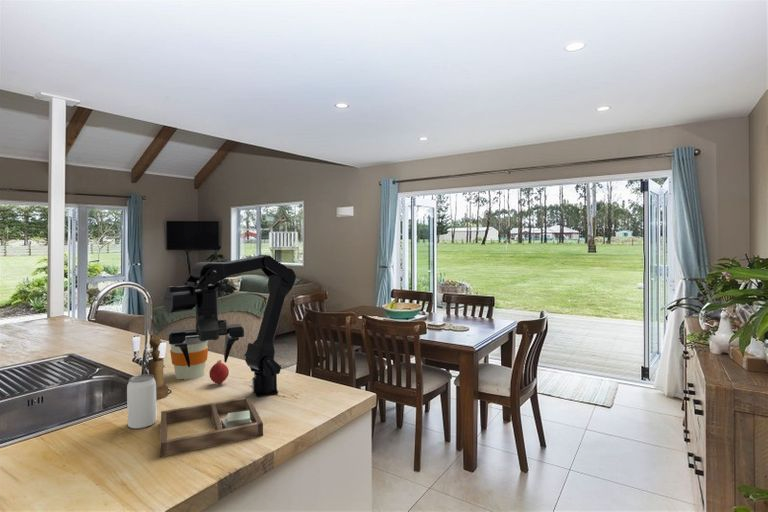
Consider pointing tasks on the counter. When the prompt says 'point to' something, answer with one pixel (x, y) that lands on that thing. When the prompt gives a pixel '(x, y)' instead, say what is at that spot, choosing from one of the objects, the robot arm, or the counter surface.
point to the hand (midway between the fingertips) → (207, 364)
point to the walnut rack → (219, 434)
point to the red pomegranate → (219, 372)
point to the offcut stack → (236, 419)
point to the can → (141, 401)
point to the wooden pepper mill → (157, 368)
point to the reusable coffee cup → (196, 356)
